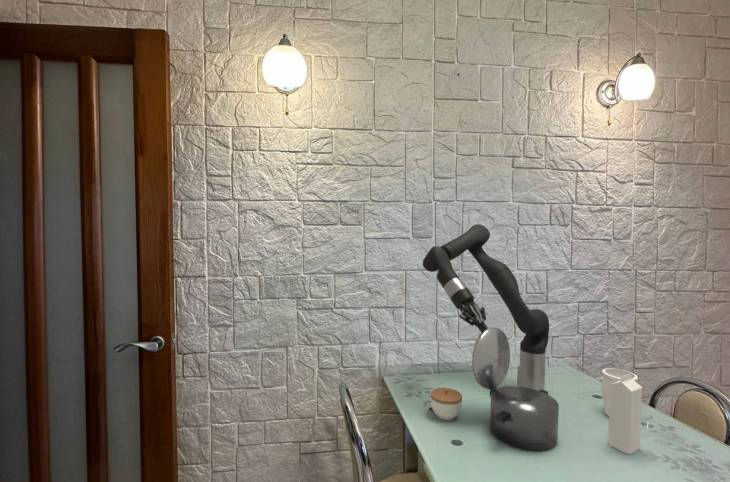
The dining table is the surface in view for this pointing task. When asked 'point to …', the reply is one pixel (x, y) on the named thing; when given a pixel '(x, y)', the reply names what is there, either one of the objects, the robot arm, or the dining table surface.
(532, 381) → the robot arm
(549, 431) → the cooker pot
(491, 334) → the lid
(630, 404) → the milk
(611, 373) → the jar
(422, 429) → the dining table surface
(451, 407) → the lidded jar
